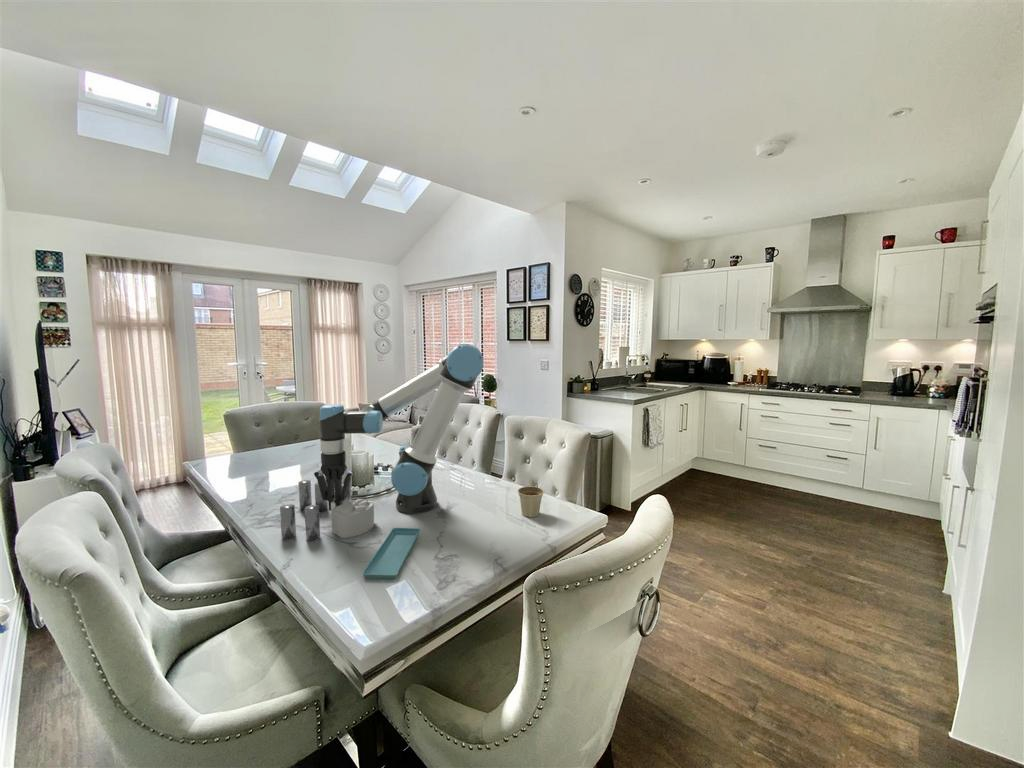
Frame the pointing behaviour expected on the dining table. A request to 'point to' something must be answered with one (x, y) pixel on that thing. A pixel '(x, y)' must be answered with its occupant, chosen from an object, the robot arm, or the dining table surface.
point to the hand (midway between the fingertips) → (335, 519)
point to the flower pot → (530, 500)
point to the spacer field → (310, 512)
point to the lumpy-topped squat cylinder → (352, 518)
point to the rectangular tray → (391, 554)
